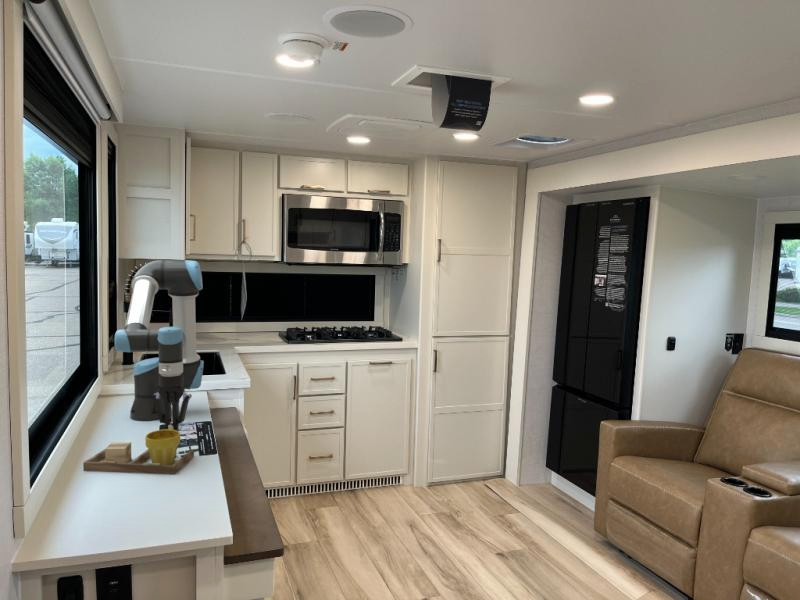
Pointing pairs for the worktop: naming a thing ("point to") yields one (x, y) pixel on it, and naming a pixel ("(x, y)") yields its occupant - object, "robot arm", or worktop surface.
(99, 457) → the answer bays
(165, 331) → the robot arm
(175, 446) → the plant pot
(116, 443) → the oak block
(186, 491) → the worktop surface
